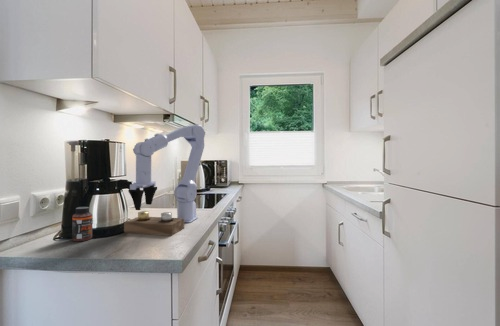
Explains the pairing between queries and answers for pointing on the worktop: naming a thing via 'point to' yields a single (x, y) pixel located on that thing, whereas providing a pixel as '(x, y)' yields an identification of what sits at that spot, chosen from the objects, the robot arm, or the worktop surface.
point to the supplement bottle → (82, 224)
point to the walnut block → (154, 226)
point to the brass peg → (143, 216)
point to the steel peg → (166, 217)
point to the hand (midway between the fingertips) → (143, 205)
